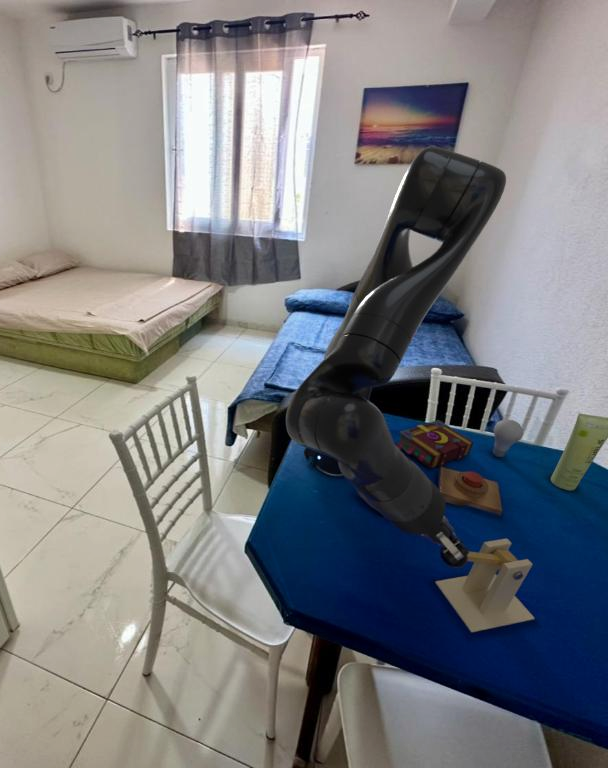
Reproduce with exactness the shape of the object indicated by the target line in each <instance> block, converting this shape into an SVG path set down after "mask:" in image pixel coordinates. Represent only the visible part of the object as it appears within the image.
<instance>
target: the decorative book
mask: <svg viewBox="0 0 608 768" xmlns="http://www.w3.org/2000/svg"><path fill="white" fill-rule="evenodd" d="M398 436H400V438H399V441H397V442H395V443H394V444H395V445H396V446H397V447H398V448H399V449H400V450H401V451H404V452H405V453H407V454H408V455H410V456H412V457H413V458H414V459H416V460H417V461H419V462H420V463H421V464H423V465H424V466H426V467H427V468H428V469H433V468H435V467H438V468H441V467H444V466H445V465H446V463H449V462H452V461H454V460H456V461H458V460H461V459H463V457H465V456H467V455H470V452H471V450H472V449H473V445H474V441H473V440H472V439H469V438H468V437H467V436H464V435H463V434H461V433H459V432H458V431H456V430H454V429H453V428H451V426H449V425H447V424H446V423H445V422H443V421H442V420H439V419H436V420H433V421H430V422H428V423H427V424H418V425H416V427H414V428H411V429H410V428H408V429H405V430H400V431H399V432H398Z"/></svg>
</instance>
